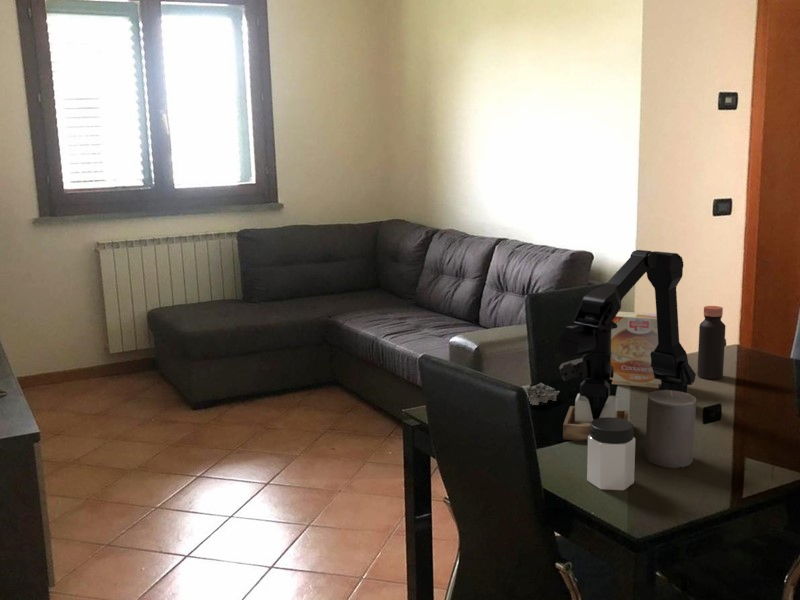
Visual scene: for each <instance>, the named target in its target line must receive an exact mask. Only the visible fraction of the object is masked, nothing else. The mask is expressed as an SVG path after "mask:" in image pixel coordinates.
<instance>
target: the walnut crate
mask: <svg viewBox="0 0 800 600" xmlns="http://www.w3.org/2000/svg"><path fill="white" fill-rule="evenodd" d="M629 411H630V410H628V409H617V418H620V419H624V420H627V421H629ZM590 424H591V423H579V422H575V405H570V406H569V408H568V411H567V413H566V416H565V418H564V421H563V424H562V440H566V441H567V440H568V441H577V442H579V441H580V442H588V436H589V435H590Z"/></svg>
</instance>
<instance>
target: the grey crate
mask: <svg viewBox="0 0 800 600" xmlns="http://www.w3.org/2000/svg"><path fill="white" fill-rule="evenodd" d="M574 406H575V422H579V423H591V422H592V421H593V417H592V412H591V408H590V404H589V400H588V399H587V398H586V397H585V396H581V395H580V393H577V395H576V397H575V401H574ZM617 410H618V395H609V397H608V399H607V401H606V403H605V406H604V408H603V410H602V412H601V414H600V417H599V418H605V417H611V418H617Z"/></svg>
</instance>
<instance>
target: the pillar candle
mask: <svg viewBox="0 0 800 600" xmlns="http://www.w3.org/2000/svg"><path fill="white" fill-rule="evenodd" d="M646 404H647V407H646V431H645V454H644V459H645V461H647V462H648V463H651V464H653V465H655V466H659V467H663V468H671V469H679V467H682V468H686V467H685V466H687V467H689V466H691V465H692V464H693V461H694V448H695V447H694V444H695V433H696V432H695V430H696V429H695V428H696V427H695V426H696V413H697V412H696V410H697V398H696V397H695V396H694V395H692V394H690V393H688V392H687V393H684V392H679V391H672V390H659V391H658V390H655V391H651V392H649V393H648V395H647V403H646ZM691 463H692V464H691ZM690 464H691V465H690ZM688 465H689V466H688Z"/></svg>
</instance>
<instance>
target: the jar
mask: <svg viewBox="0 0 800 600" xmlns="http://www.w3.org/2000/svg"><path fill="white" fill-rule="evenodd" d="M634 427H635V426H634V424H633V422H631V421H629V420H628V421H627V420H624V419H620V418H611V417H605V418H598V419H595V420H593V421H592V422H591V424H590V435H589V436H588V441H587V461H586V462H587V463H586V464H587V468H586V470H587V471H586V475H587V476H586V480H587V482H589V483H590V484H592V485H593V486H595V487H596V488H598V489H599V490H602V491H603V490H604V491H608V490H609V491H625V490H626V489H628V488H629V487H630V486H632V485H633V484H634V483H635V462H636V458H635V457H636V438H635V436H634Z"/></svg>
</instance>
